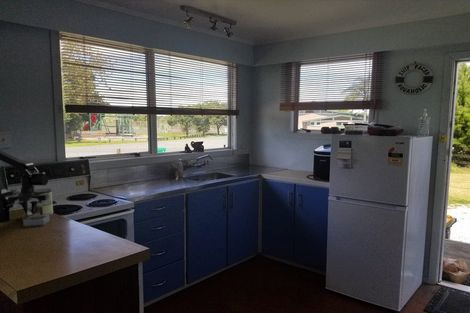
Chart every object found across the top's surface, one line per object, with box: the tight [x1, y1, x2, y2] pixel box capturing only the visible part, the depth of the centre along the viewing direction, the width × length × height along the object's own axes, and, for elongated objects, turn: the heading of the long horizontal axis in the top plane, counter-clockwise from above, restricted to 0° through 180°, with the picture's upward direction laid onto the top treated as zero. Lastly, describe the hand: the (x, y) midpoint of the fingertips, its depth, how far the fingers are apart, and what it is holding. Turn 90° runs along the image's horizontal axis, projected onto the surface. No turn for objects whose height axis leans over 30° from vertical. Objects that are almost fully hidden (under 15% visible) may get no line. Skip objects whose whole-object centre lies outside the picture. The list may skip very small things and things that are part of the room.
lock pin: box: [27, 208, 33, 216], centre depth 188 cm, size 2×2×6 cm
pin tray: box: [22, 215, 51, 228], centre depth 182 cm, size 10×10×3 cm
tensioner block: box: [21, 211, 40, 223], centre depth 190 cm, size 9×6×4 cm, turn 12°
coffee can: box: [34, 188, 54, 216], centre depth 202 cm, size 10×10×14 cm
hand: (29, 213), depth 188 cm, fingers closed on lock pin, 2 cm apart
